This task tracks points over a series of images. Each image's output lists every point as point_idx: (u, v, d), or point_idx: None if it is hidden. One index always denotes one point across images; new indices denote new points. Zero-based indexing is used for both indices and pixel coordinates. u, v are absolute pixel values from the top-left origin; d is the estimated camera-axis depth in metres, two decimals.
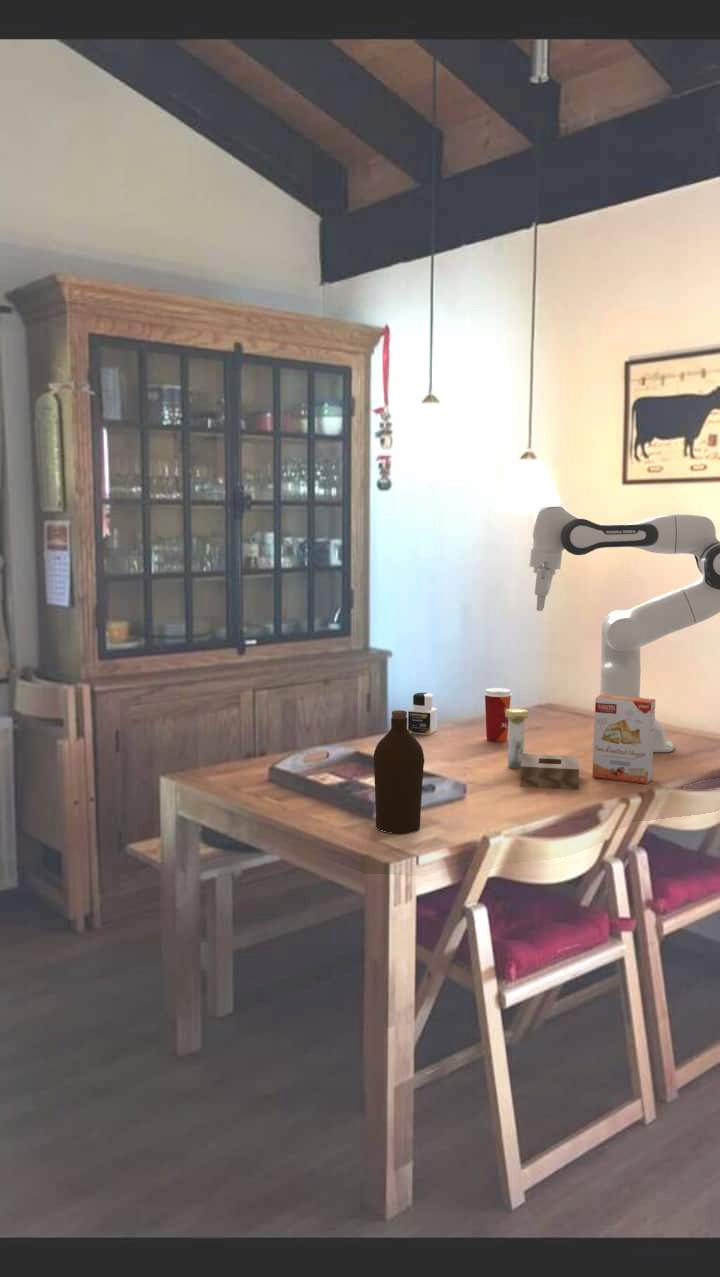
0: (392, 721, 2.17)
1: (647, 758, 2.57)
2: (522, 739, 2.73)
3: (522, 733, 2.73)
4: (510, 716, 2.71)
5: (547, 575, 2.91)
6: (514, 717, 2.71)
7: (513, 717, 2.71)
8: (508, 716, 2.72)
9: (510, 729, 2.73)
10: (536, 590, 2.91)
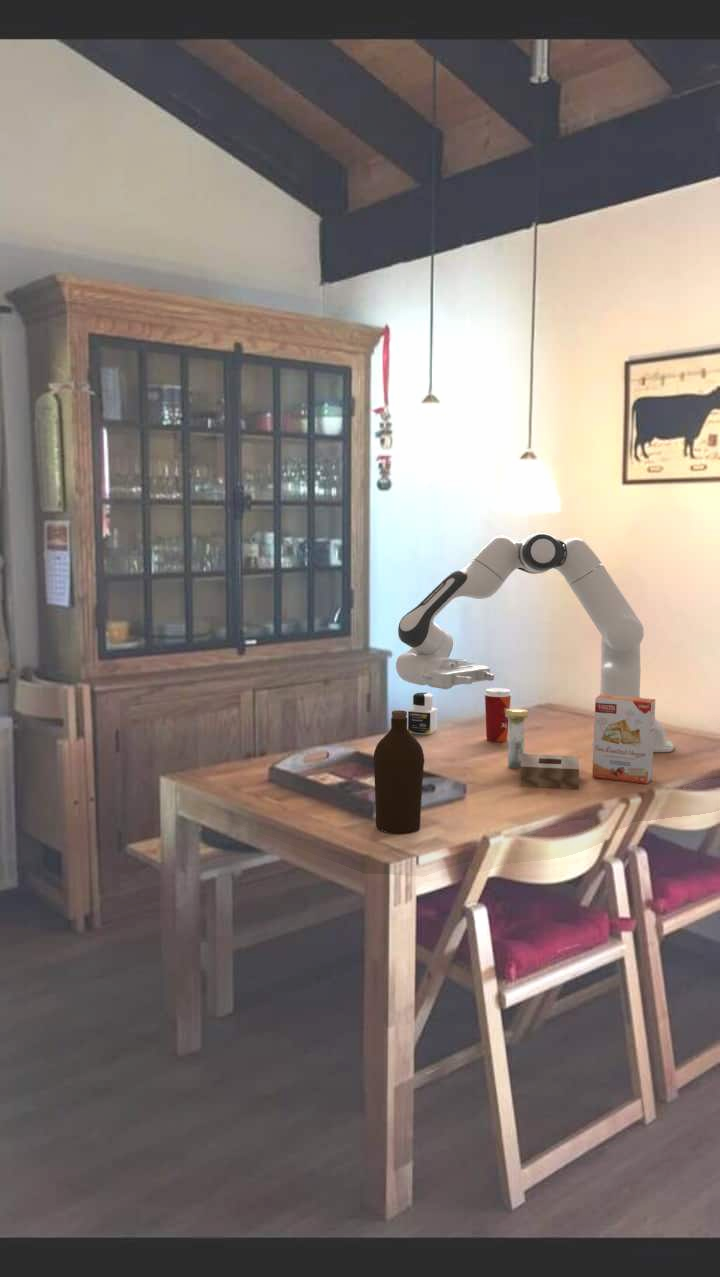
0: (392, 721, 2.17)
1: (647, 758, 2.57)
2: (522, 739, 2.73)
3: (522, 733, 2.73)
4: (510, 716, 2.71)
5: (429, 673, 2.82)
6: (514, 717, 2.71)
7: (513, 717, 2.71)
8: (508, 716, 2.72)
9: (510, 729, 2.73)
10: (440, 685, 2.79)
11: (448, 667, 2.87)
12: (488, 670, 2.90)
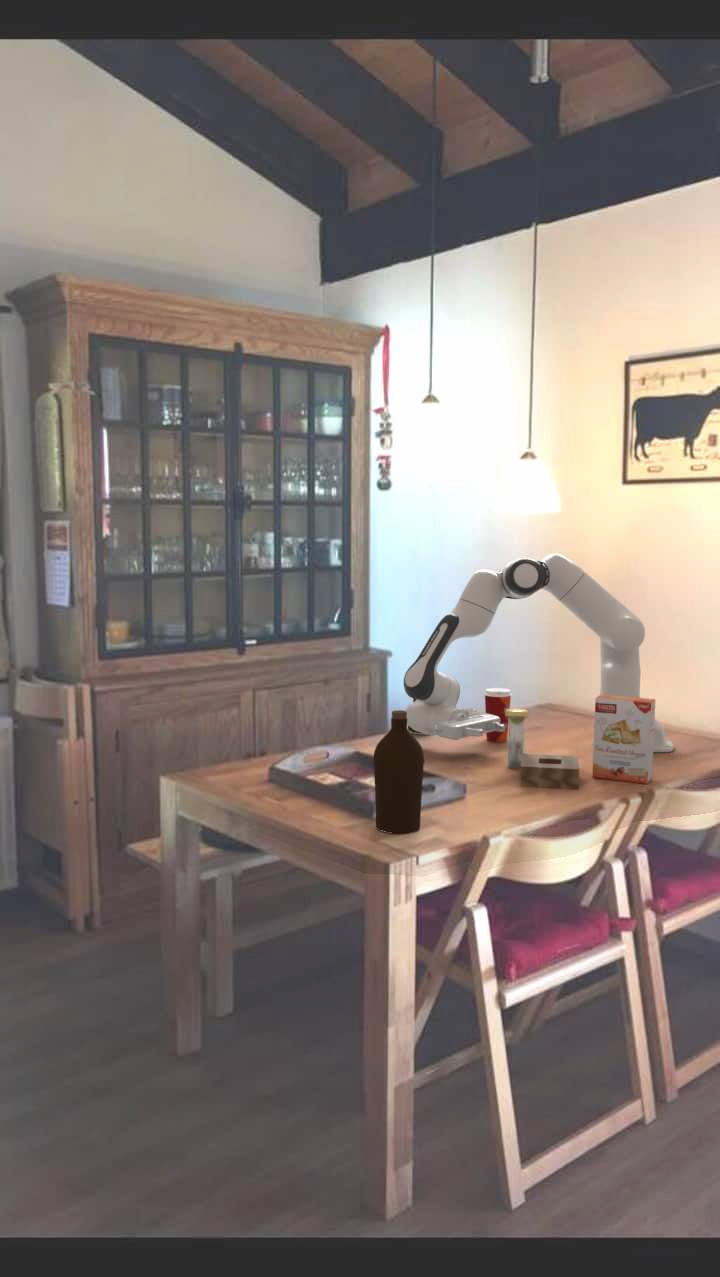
0: (392, 721, 2.17)
1: (647, 758, 2.57)
2: (522, 739, 2.73)
3: (522, 733, 2.73)
4: (510, 716, 2.71)
5: (440, 725, 2.81)
6: (514, 717, 2.71)
7: (513, 717, 2.71)
8: (508, 716, 2.72)
9: (510, 729, 2.73)
10: (451, 737, 2.78)
11: (458, 718, 2.86)
12: (498, 720, 2.89)
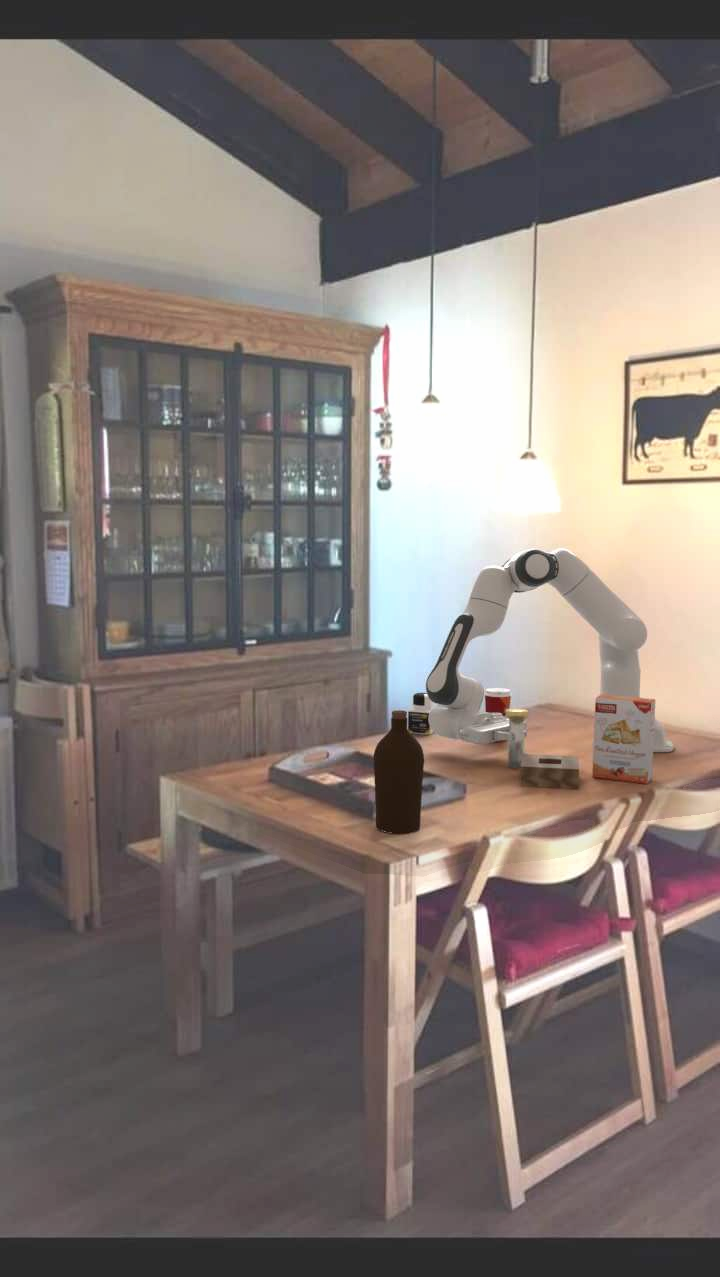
0: (392, 721, 2.17)
1: (647, 758, 2.57)
2: (522, 739, 2.73)
3: (522, 733, 2.73)
4: (510, 716, 2.71)
5: (465, 730, 2.74)
6: (514, 717, 2.71)
7: (513, 717, 2.71)
8: (508, 716, 2.72)
9: (510, 729, 2.73)
10: (477, 742, 2.71)
11: (484, 722, 2.80)
12: (524, 724, 2.83)
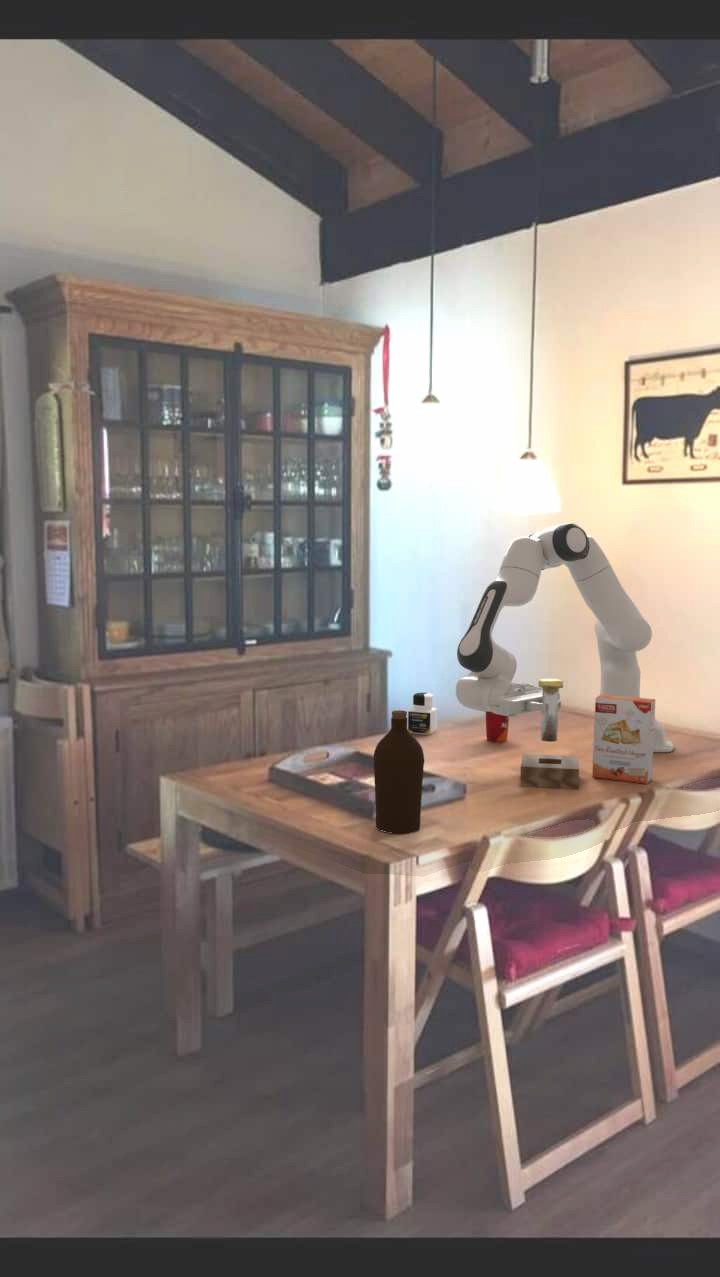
0: (392, 721, 2.17)
1: (647, 758, 2.57)
2: (556, 710, 2.58)
3: (556, 704, 2.57)
4: (543, 685, 2.56)
5: (496, 700, 2.59)
6: (548, 687, 2.56)
7: (547, 687, 2.56)
8: (542, 686, 2.57)
9: (544, 699, 2.58)
10: (508, 713, 2.56)
11: (515, 693, 2.64)
12: None
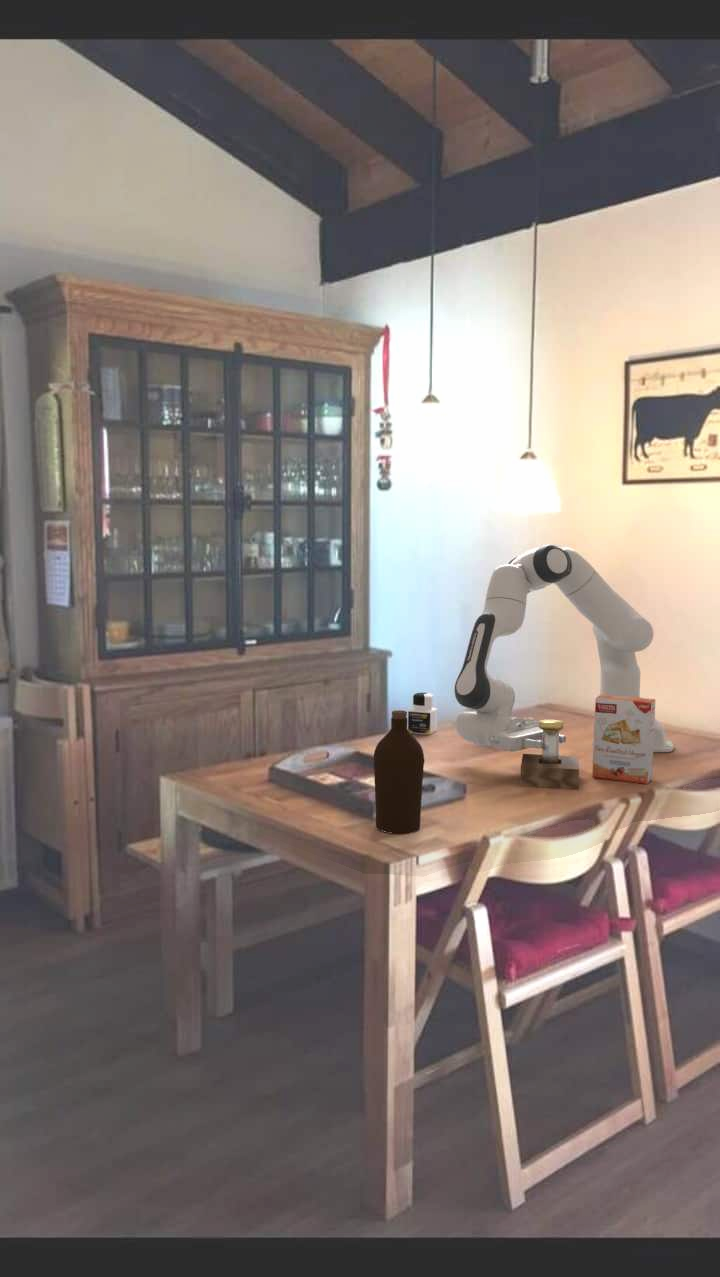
0: (392, 721, 2.17)
1: (647, 758, 2.57)
2: (557, 751, 2.59)
3: (557, 745, 2.58)
4: (544, 727, 2.57)
5: (496, 736, 2.60)
6: (548, 728, 2.56)
7: (547, 728, 2.57)
8: (542, 727, 2.57)
9: (544, 741, 2.59)
10: (509, 749, 2.56)
11: (515, 728, 2.65)
12: None
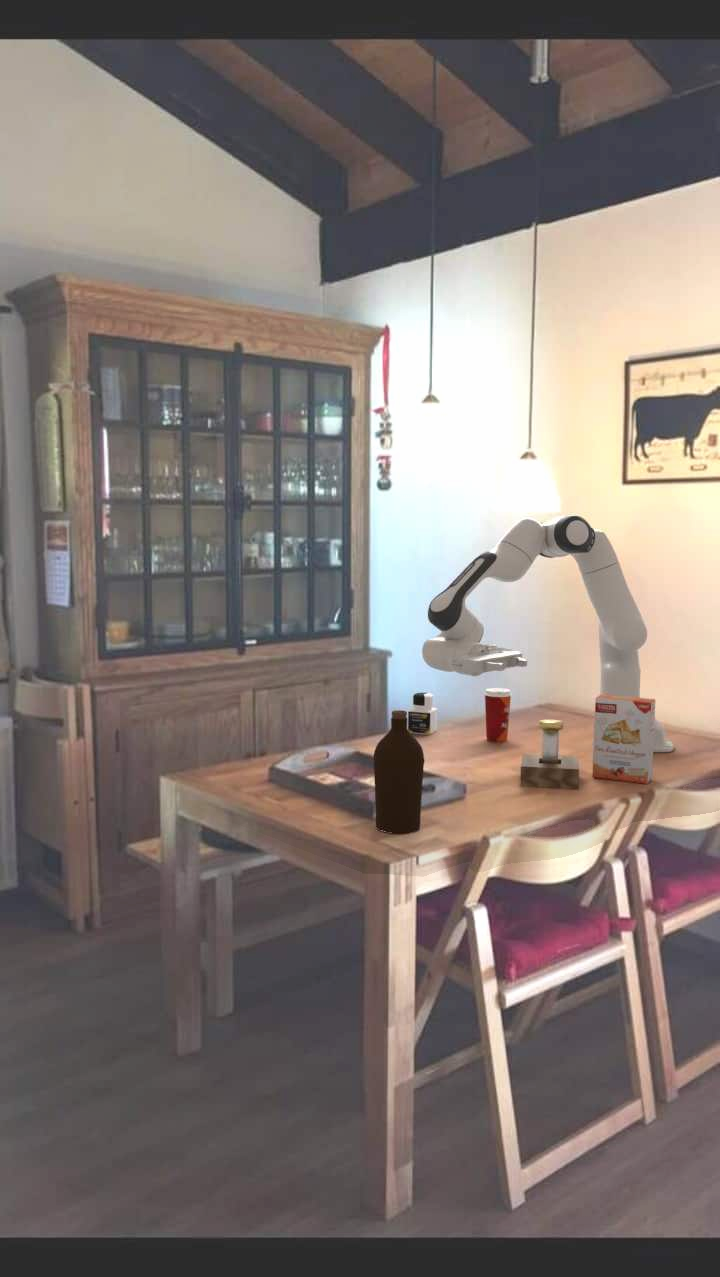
0: (392, 721, 2.17)
1: (647, 758, 2.57)
2: (557, 751, 2.59)
3: (557, 745, 2.58)
4: (544, 727, 2.57)
5: (459, 660, 2.67)
6: (548, 728, 2.56)
7: (547, 728, 2.57)
8: (542, 727, 2.58)
9: (544, 741, 2.59)
10: (471, 672, 2.64)
11: (478, 653, 2.72)
12: (520, 655, 2.75)
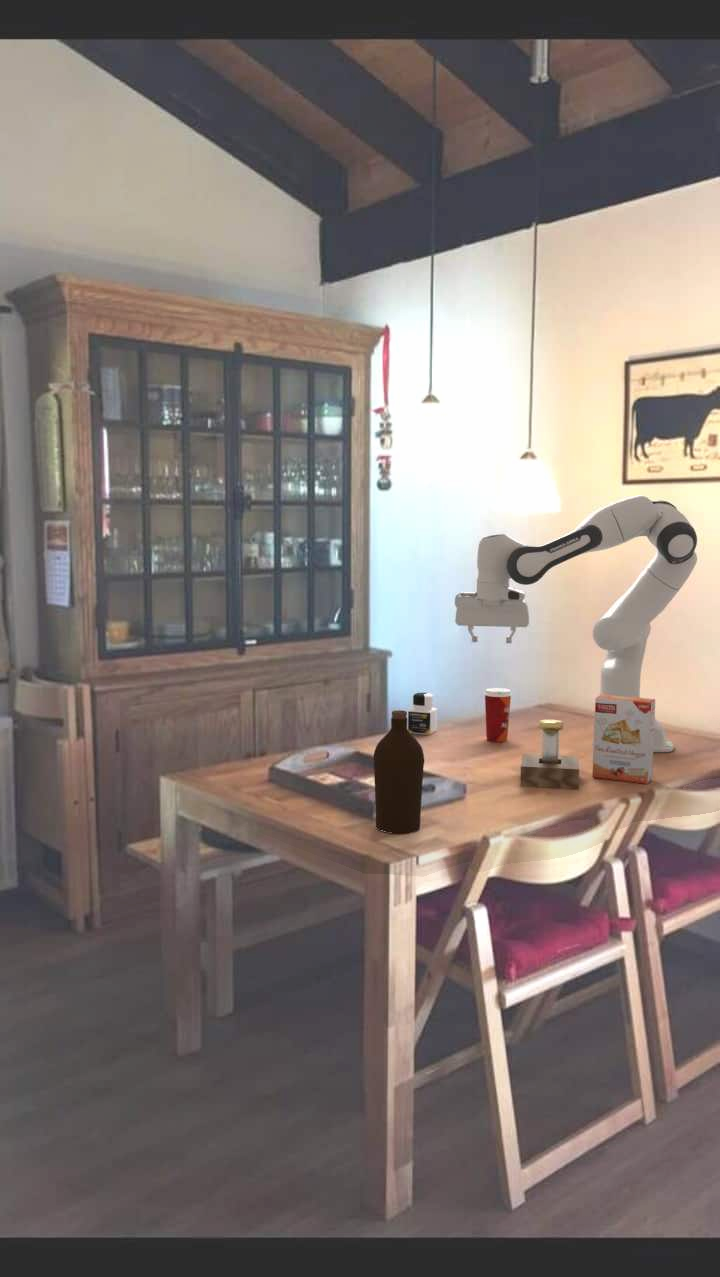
0: (392, 721, 2.17)
1: (647, 758, 2.57)
2: (557, 751, 2.59)
3: (556, 745, 2.58)
4: (544, 727, 2.57)
5: (457, 604, 2.87)
6: (548, 728, 2.56)
7: (547, 728, 2.57)
8: (542, 727, 2.58)
9: (544, 741, 2.59)
10: None
11: (485, 605, 2.85)
12: None
